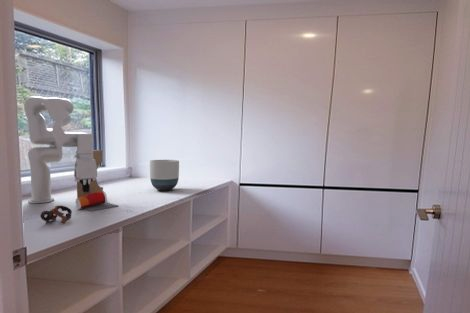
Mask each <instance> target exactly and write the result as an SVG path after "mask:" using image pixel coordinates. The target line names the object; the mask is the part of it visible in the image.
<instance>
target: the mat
mask: <svg viewBox="0 0 470 313" xmlns="http://www.w3.org/2000/svg"><path fill="white" fill-rule="evenodd" d="M118 207H119V205H118V204H114V203H111V202H107V201H106V202H105V203H104V204H98V205H94V206H90V207H86V208H81V209H82V210H86V211H89V212H95V211H101V210H108V209H111V208H112V209H113V208H118Z"/></svg>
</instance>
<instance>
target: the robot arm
mask: <svg viewBox="0 0 470 313" xmlns="http://www.w3.org/2000/svg"><path fill="white" fill-rule="evenodd" d="M23 109H24V114H25V116H26V119H27V124H28V133H29V135H28V136H29V140H30V143H31V144H33V145H41V146H36V147H35V146H34V147H32V148H30V149H29V150H28V153H27V158H28V163H29V168H30V169H29V170H30V188H31V189H30V190H31V191H30V192H31V194H30V195H31V199H29V200H28V203H29V204H45V203H51V202H53V201H54V200H55V198H54V197H52V187H51V182H52V181H51V169H50V167H49V166H48V165H47V164H53V163H60V162H61V161H62V159H63V157H64V156H63V155H64V153H63V148H76V151H77V155H76V154H75V155H74V158H77V160H75V163H74V171H73V174H74V175H73V176H74V182H75V183H77V182H80V183H81V184H82V190H83V192H89V184H90V183H91V182H92V181H93V180H96V179H97V177H98V168H97V166H96V161H95V159H93V150H94V135H93V134H92V133H89V132H71V131H70V132H69V131H67V132H65V131H64V129H63V127H65V126H67V125H68V124H70V123H71V121H72V116H71V115H70V114H71V113H73V111H74V109H75V107H74V104H73V101H71V100H69V99H68V98H63V97H62V98H61V97H60V98H59V97H54V96H53V97H44V96H29V97H27V98H26V99H25V100H24V104H23ZM41 113H47V114H48V115H49V116H50V118H51V119H52V121H53V124H52V127H51V128H47V122H46V119H45V117H44V116H43V115H42V114H41ZM44 145H46V146H44ZM47 145H49V146H47ZM79 179H80V180H79ZM85 179H86V181H85Z"/></svg>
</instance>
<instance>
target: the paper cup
mask: <svg viewBox="0 0 470 313" xmlns="http://www.w3.org/2000/svg"><path fill="white" fill-rule="evenodd" d="M107 200H108V196H107V194H106V192H105V191H104V190H103V191H101V190H100V191H98V192H95V193H92V194H89V195H86V196H83V197H80V198H77V197H76V199H75V204H76V207H77V208H78V209H79V210H80V209H82V208H86V207H90V206H94V205H98V204H104V203H105V202H107Z"/></svg>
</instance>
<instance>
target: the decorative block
mask: <svg viewBox="0 0 470 313" xmlns="http://www.w3.org/2000/svg"><path fill="white" fill-rule="evenodd" d="M75 155H77V150H76V152H75ZM93 159H95V161H96V166H97V169H98V168H99V166H100V165H101V164H102V163H103V150H102V149H93ZM76 160H77V158H76ZM76 160H75V161H76ZM79 180H80V179H79ZM85 181H86V179H85ZM100 190H101V191H104V186H100V185H99V183H98V181H97V178H96V180H93V181H92V182H91V183H90V184H89V192H83V190H82V184H81V183H80V182H76V199H77V198H80V197H83V196H86V195H89V194H92V193H95V192H98V191H100Z"/></svg>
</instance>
